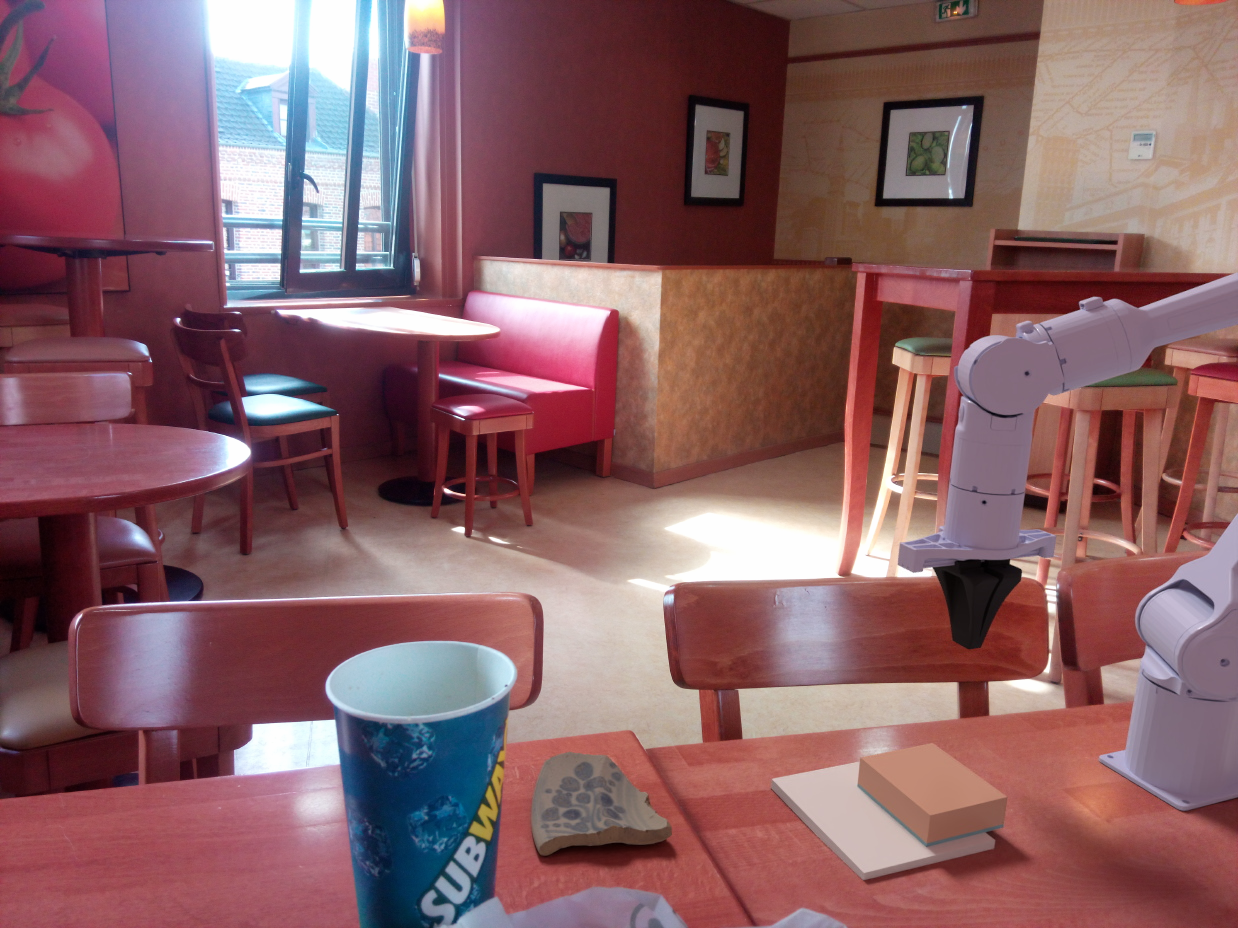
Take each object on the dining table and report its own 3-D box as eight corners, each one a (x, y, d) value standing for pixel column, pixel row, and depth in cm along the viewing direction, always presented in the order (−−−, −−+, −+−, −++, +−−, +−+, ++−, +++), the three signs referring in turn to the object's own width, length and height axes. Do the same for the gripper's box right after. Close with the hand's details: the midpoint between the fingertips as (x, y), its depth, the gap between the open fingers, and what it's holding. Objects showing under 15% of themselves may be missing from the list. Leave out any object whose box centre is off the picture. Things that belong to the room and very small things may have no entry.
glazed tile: (932, 742, 74) (860, 757, 72) (1007, 796, 67) (930, 815, 64) (929, 770, 75) (857, 786, 72) (1003, 827, 67) (926, 846, 65)
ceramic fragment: (675, 842, 63) (531, 820, 62) (667, 880, 64) (524, 859, 63) (666, 753, 73) (542, 734, 73) (659, 787, 74) (536, 769, 74)
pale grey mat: (888, 764, 77) (889, 755, 77) (993, 849, 66) (995, 839, 66) (770, 787, 73) (771, 778, 73) (862, 883, 62) (863, 872, 62)
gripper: (1018, 470, 81) (998, 616, 83) (881, 479, 75) (865, 635, 78) (1085, 490, 74) (1061, 647, 77) (940, 501, 69) (920, 670, 72)
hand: (966, 644), depth 77 cm, fingers closed
